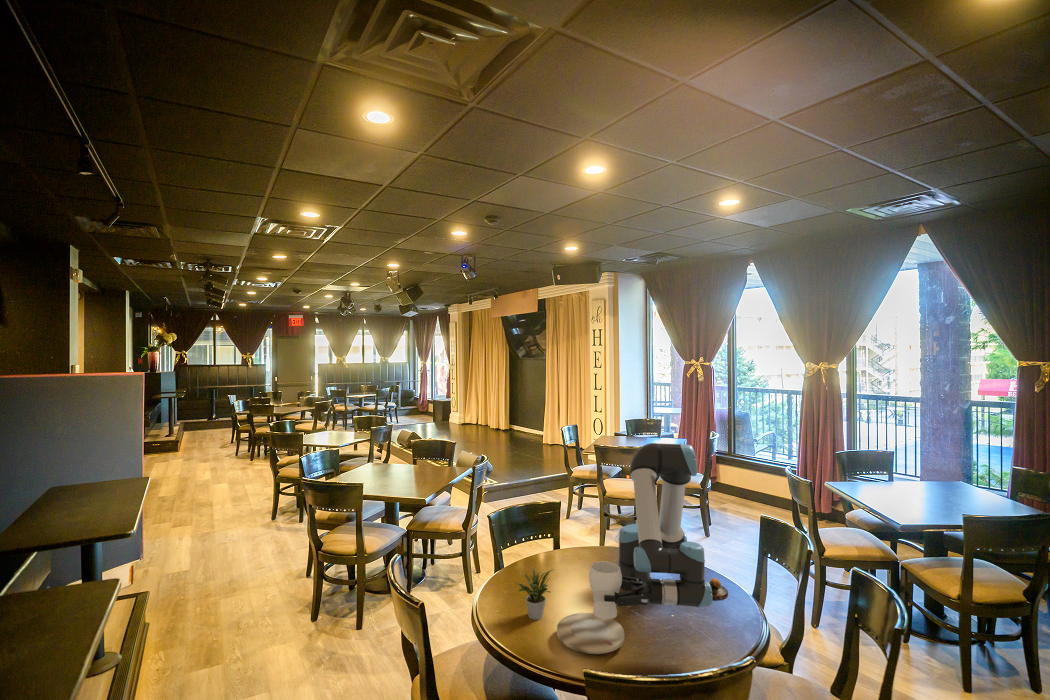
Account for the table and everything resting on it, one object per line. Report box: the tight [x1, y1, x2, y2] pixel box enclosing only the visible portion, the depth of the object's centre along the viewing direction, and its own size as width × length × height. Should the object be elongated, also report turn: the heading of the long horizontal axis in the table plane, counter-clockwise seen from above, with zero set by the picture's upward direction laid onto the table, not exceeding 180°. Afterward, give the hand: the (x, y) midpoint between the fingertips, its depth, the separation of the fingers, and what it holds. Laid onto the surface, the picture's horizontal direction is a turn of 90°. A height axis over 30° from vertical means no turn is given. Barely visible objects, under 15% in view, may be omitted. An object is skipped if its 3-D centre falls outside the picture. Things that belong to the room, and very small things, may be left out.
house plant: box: [514, 566, 554, 621], centre depth 183 cm, size 14×14×16 cm
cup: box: [588, 560, 622, 619], centre depth 165 cm, size 11×11×15 cm
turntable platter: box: [556, 612, 625, 655], centre depth 166 cm, size 22×22×2 cm
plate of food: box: [708, 577, 729, 601], centre depth 202 cm, size 12×12×8 cm
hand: (592, 587), depth 165 cm, fingers closed on cup, 10 cm apart
